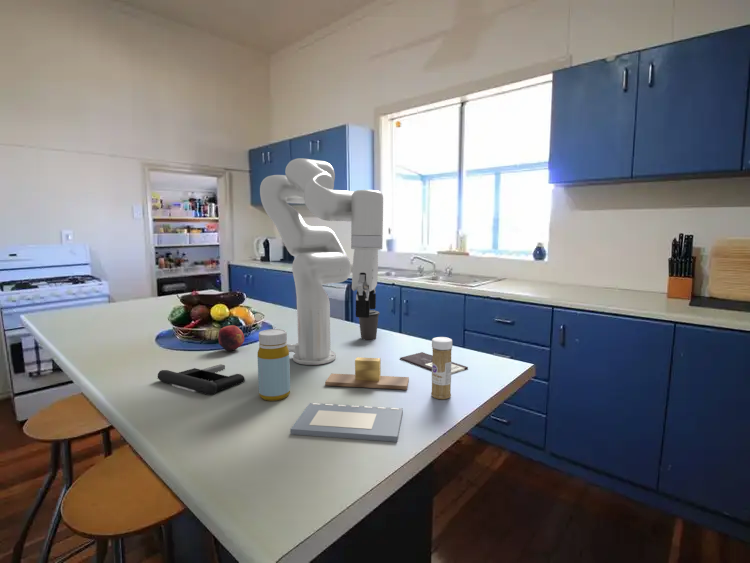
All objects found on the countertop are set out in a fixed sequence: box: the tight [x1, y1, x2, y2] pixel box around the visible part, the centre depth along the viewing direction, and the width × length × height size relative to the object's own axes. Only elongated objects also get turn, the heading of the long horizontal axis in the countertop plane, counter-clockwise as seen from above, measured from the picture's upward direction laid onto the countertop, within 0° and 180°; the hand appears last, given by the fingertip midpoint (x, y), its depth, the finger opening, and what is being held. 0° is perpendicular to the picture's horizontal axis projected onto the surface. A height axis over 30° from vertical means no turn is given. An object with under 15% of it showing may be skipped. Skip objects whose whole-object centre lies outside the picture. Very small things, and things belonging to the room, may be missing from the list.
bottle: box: [257, 328, 291, 402], centre depth 94 cm, size 7×7×15 cm
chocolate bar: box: [399, 351, 469, 375], centre depth 117 cm, size 9×1×18 cm
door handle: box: [156, 363, 246, 396], centre depth 105 cm, size 3×20×16 cm
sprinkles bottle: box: [430, 336, 453, 400], centre depth 93 cm, size 5×5×14 cm
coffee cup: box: [358, 309, 381, 341], centre depth 145 cm, size 8×8×10 cm
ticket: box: [289, 402, 404, 443], centre depth 81 cm, size 20×12×1 cm, turn 81°
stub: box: [324, 356, 410, 391], centre depth 102 cm, size 20×6×6 cm, turn 81°
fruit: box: [218, 324, 245, 352], centre depth 131 cm, size 8×8×8 cm
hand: (366, 312), depth 101 cm, fingers open, 9 cm apart
